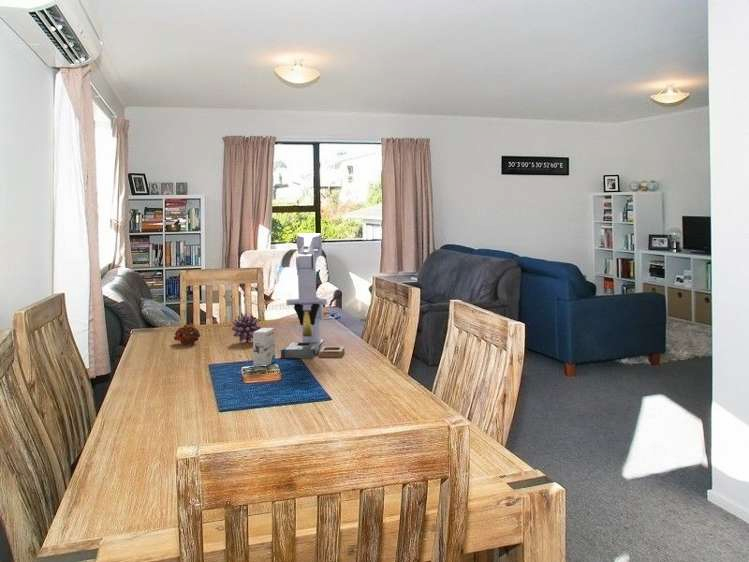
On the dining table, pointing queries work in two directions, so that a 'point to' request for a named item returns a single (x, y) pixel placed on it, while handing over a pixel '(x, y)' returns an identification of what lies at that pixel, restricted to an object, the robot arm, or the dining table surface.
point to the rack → (331, 352)
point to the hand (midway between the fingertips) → (307, 324)
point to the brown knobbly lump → (187, 334)
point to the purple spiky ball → (245, 327)
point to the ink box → (263, 346)
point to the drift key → (283, 352)
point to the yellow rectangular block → (307, 322)
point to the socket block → (302, 350)
